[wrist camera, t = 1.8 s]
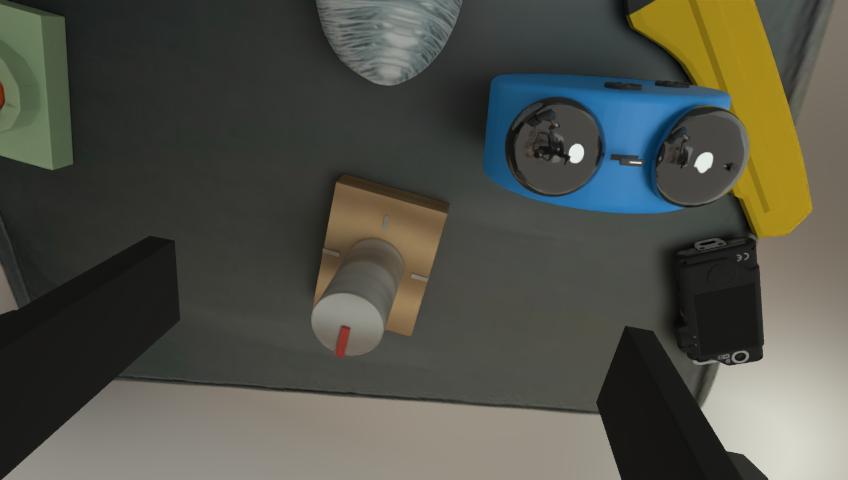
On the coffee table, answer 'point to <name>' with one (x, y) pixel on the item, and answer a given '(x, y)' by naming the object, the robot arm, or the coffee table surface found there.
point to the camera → (719, 302)
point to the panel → (385, 238)
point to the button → (1, 95)
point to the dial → (359, 298)
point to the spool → (388, 35)
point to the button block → (34, 87)
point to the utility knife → (738, 97)
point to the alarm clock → (613, 142)
